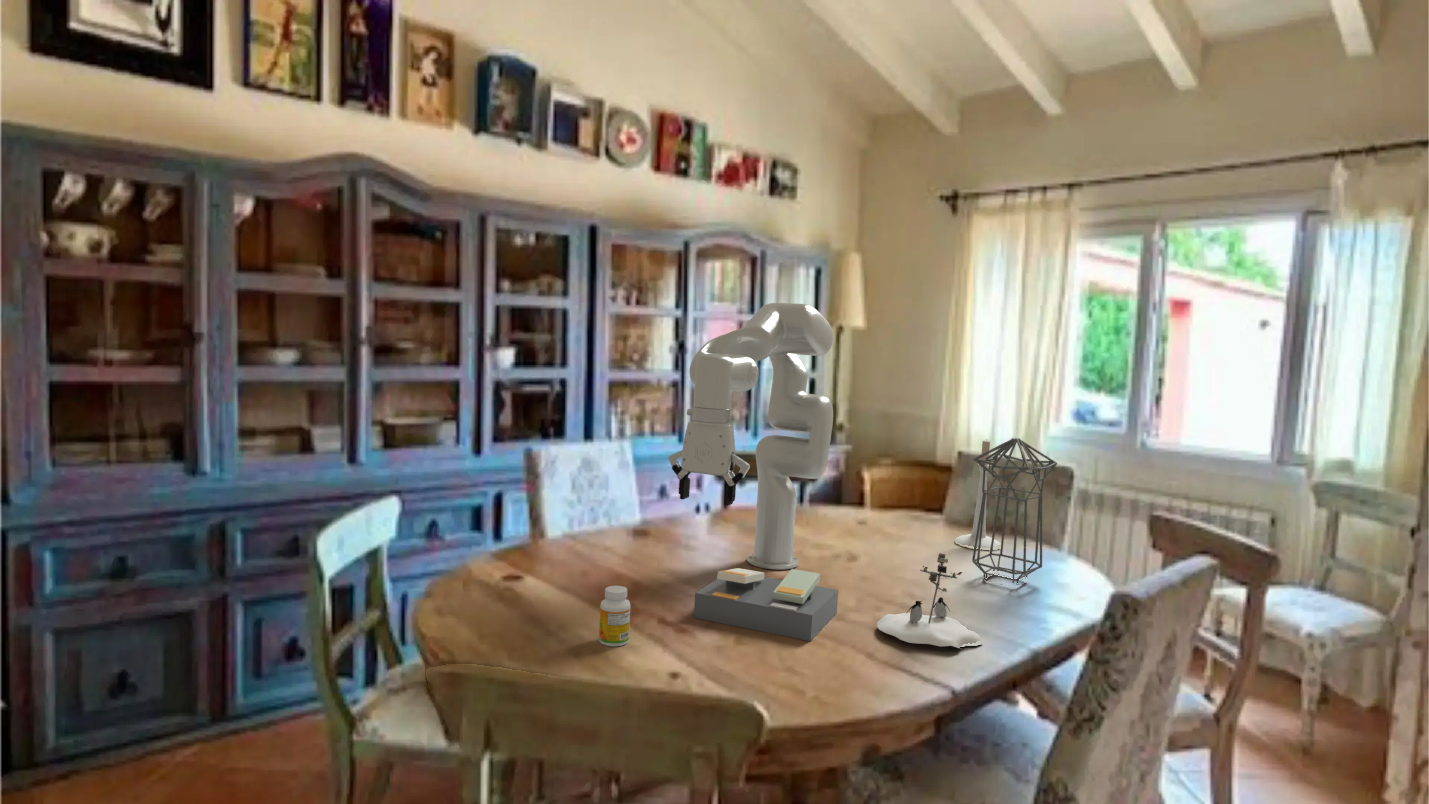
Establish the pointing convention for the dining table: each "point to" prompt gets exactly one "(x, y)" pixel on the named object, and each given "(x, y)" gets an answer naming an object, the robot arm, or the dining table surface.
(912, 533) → the dining table surface
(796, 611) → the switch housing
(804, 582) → the sage rocker
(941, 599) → the figurine
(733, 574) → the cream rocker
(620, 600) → the supplement bottle
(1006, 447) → the geometric lantern
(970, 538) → the candlestick
